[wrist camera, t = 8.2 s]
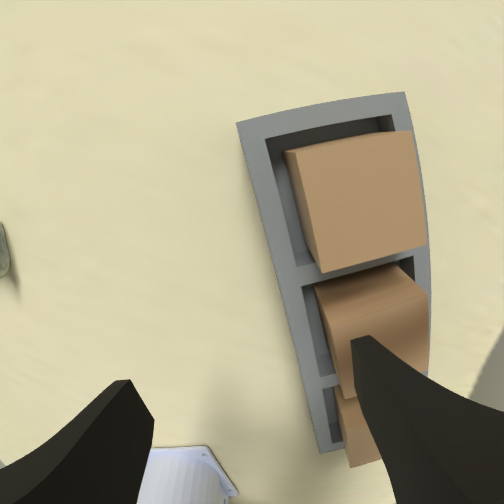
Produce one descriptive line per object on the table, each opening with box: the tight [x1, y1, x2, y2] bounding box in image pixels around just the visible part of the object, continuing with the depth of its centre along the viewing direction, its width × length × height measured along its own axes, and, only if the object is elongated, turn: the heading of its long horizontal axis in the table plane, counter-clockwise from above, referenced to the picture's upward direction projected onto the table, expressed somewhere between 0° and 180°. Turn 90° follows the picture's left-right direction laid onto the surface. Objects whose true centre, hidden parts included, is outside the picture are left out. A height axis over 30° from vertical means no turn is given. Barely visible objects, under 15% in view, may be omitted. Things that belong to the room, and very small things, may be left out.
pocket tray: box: [236, 92, 431, 468], centre depth 16 cm, size 22×8×6 cm, turn 15°
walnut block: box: [312, 262, 429, 399], centre depth 15 cm, size 4×4×5 cm
